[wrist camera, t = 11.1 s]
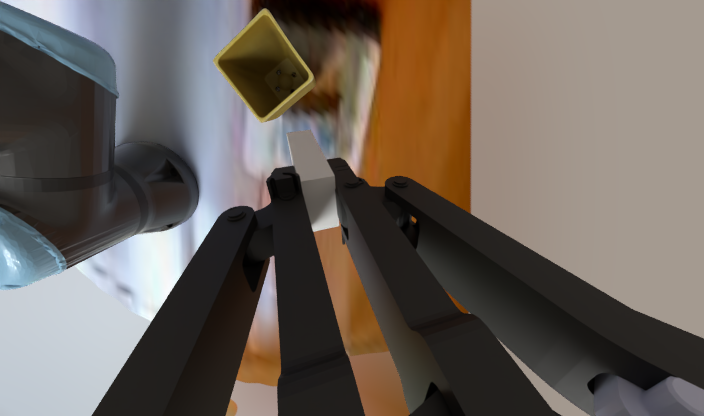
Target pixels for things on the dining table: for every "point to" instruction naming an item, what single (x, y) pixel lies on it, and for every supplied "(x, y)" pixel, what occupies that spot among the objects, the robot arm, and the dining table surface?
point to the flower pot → (264, 68)
